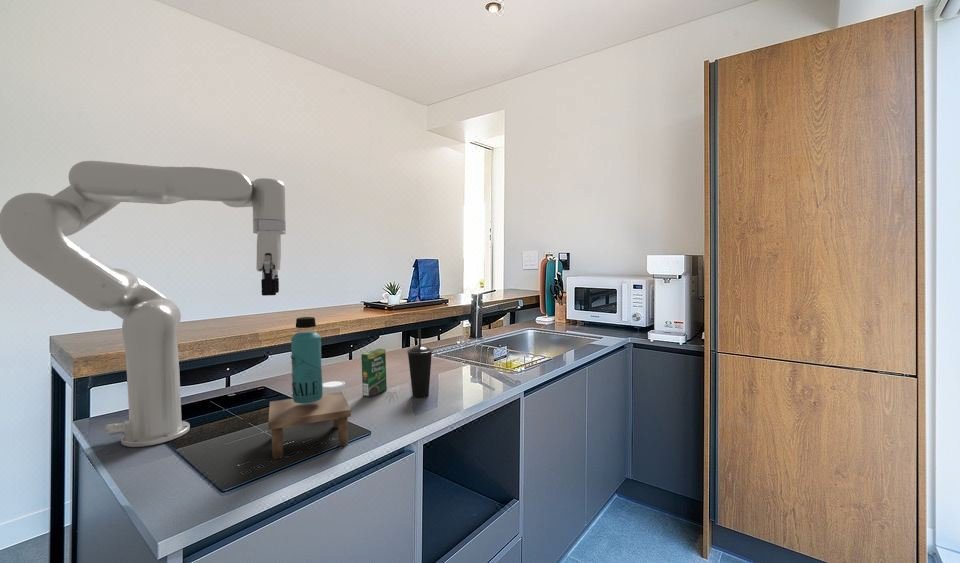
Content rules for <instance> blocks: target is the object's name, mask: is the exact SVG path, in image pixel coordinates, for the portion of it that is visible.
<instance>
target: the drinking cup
mask: <svg viewBox="0 0 960 563" xmlns="http://www.w3.org/2000/svg"><path fill="white" fill-rule="evenodd" d="M417 330H418V345H417V346H413V347H411V348H409V349H407V350H406V353H407V356H408V365H409V366H408V367H409V376H410V384H411V393H412V395H411V396H412V397H413V398H415V399H417V398H418V399H419V398H421V399H422V398H426V397H428V396H429V394H430V383H431V382H430V380H431V371H432V370H431V368H432V366H431V365H432V355H433V354H432V353H433V350H434V349H432V348H430V347H428V346H424V345H422V334H421V332H422V329H421V328H418V329H417Z"/></svg>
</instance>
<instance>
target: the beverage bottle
mask: <svg viewBox="0 0 960 563" xmlns="http://www.w3.org/2000/svg"><path fill="white" fill-rule="evenodd" d="M295 321H296V322H295V328H296V329H309V328H315V327H316V326H317V322H316V317H314V316H303V317H297V318H296V319H295ZM290 341H291V348H290V351H291V354H290V359H291V361H290V363H291V378H292V379H291V390H292V394H291V398H292V399H293V400H294V402H295V403H311V402H315V401H318V400H320V399H321V398H322V393H323V392H322V390H323V389H322V383H323V373H322V372H323V370H322V342H321V341H322V336H321V334H319V333H318V332H317V331H313V330H307V331H306V330H305V331H299V332H296V333H295V334H293V335H292V337H291V338H290Z"/></svg>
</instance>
